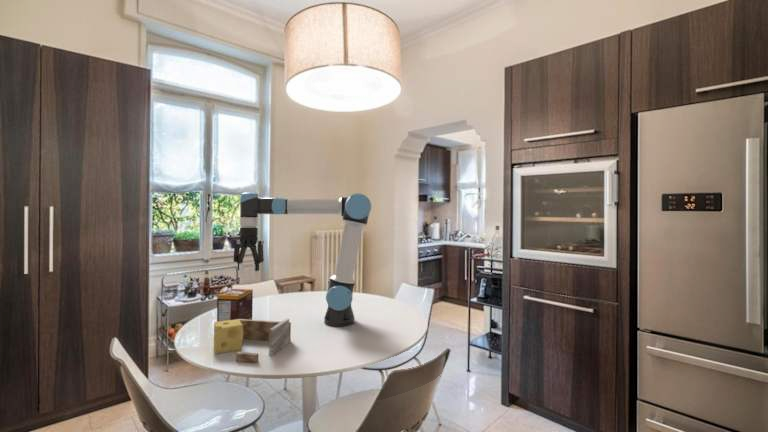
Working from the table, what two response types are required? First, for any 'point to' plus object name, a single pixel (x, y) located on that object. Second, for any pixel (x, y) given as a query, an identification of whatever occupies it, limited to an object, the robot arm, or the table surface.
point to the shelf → (265, 336)
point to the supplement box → (235, 305)
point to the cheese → (228, 336)
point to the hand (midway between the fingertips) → (248, 277)
